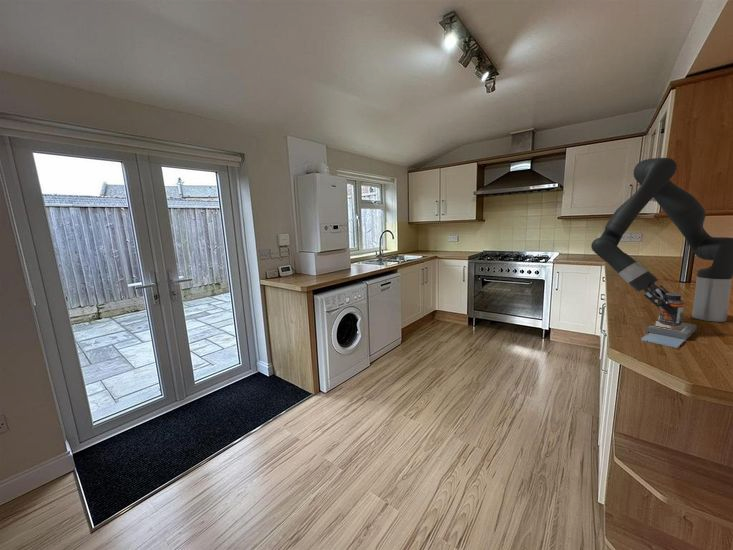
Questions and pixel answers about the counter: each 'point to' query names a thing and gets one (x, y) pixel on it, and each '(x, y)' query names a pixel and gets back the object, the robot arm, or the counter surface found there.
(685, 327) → the grey c-shaped bracket
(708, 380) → the counter surface
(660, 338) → the coaster
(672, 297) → the supplement bottle
